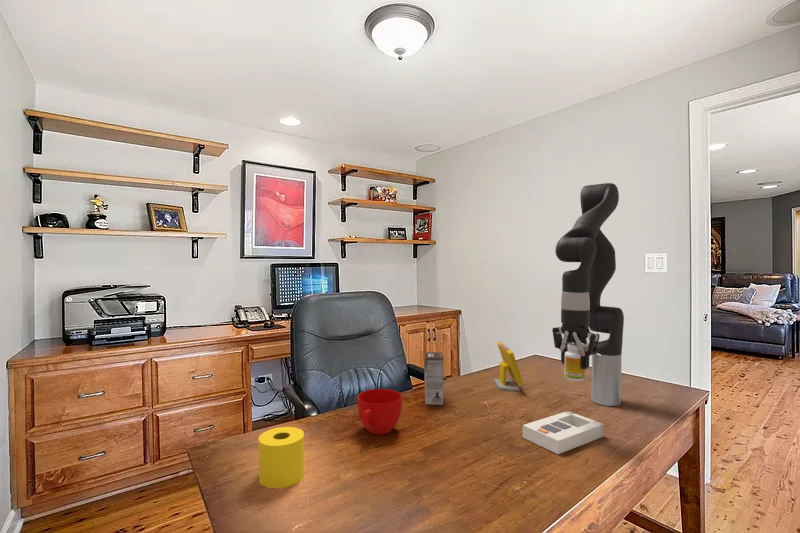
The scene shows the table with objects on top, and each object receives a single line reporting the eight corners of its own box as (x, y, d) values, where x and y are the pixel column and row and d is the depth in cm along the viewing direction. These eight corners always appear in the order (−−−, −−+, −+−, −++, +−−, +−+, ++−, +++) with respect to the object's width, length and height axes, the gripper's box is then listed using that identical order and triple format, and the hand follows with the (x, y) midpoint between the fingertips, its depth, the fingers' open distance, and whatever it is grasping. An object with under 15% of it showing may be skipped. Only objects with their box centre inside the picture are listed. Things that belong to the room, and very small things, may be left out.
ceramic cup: (342, 441, 113) (342, 405, 113) (368, 418, 129) (368, 386, 129) (387, 449, 109) (387, 411, 108) (408, 424, 124) (408, 391, 124)
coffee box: (424, 395, 150) (424, 351, 150) (441, 395, 150) (442, 351, 150) (425, 404, 141) (425, 357, 141) (443, 405, 141) (444, 358, 141)
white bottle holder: (567, 422, 127) (567, 409, 126) (603, 436, 117) (603, 422, 117) (522, 437, 116) (522, 423, 116) (558, 454, 106) (558, 439, 106)
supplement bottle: (586, 381, 116) (587, 347, 115) (566, 380, 117) (566, 346, 116) (582, 376, 121) (582, 343, 121) (562, 375, 122) (563, 342, 122)
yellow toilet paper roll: (260, 492, 89) (260, 449, 88) (256, 470, 98) (256, 431, 97) (307, 482, 93) (307, 441, 92) (299, 462, 102) (299, 424, 101)
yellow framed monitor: (523, 394, 152) (524, 351, 152) (502, 394, 152) (502, 351, 152) (510, 378, 172) (510, 340, 172) (491, 378, 172) (491, 340, 172)
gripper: (606, 309, 114) (606, 370, 115) (562, 304, 126) (561, 359, 127) (590, 311, 110) (589, 374, 111) (545, 305, 122) (545, 362, 123)
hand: (574, 366), depth 119 cm, fingers closed on supplement bottle, 5 cm apart
